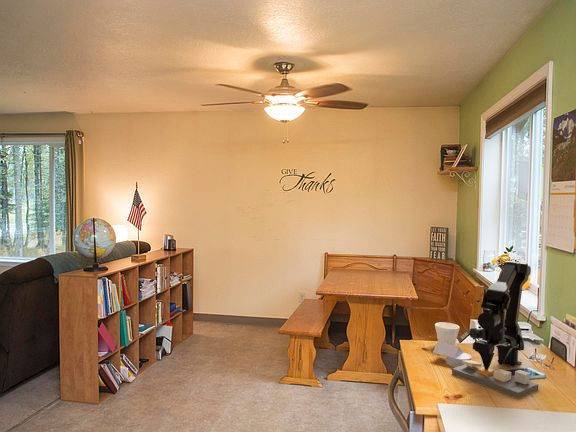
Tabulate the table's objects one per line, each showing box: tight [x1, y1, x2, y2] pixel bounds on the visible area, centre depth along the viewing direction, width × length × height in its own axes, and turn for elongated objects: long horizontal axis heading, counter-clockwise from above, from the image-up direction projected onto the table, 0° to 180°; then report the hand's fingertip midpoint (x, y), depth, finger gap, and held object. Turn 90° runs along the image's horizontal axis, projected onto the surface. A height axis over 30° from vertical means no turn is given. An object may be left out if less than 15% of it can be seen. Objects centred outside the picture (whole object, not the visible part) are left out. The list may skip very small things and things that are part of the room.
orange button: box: [477, 367, 494, 377], centre depth 162 cm, size 4×4×2 cm
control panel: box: [451, 364, 539, 400], centre depth 159 cm, size 13×24×3 cm, turn 36°
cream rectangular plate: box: [462, 359, 482, 367], centre depth 166 cm, size 6×4×1 cm, turn 126°
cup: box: [434, 321, 460, 346], centre depth 196 cm, size 10×10×9 cm
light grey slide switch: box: [514, 369, 531, 384], centre depth 154 cm, size 3×4×3 cm
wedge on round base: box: [432, 341, 472, 368], centre depth 177 cm, size 9×7×13 cm
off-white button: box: [493, 368, 512, 382], centre depth 157 cm, size 4×4×2 cm
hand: (493, 367), depth 165 cm, fingers open, 9 cm apart
